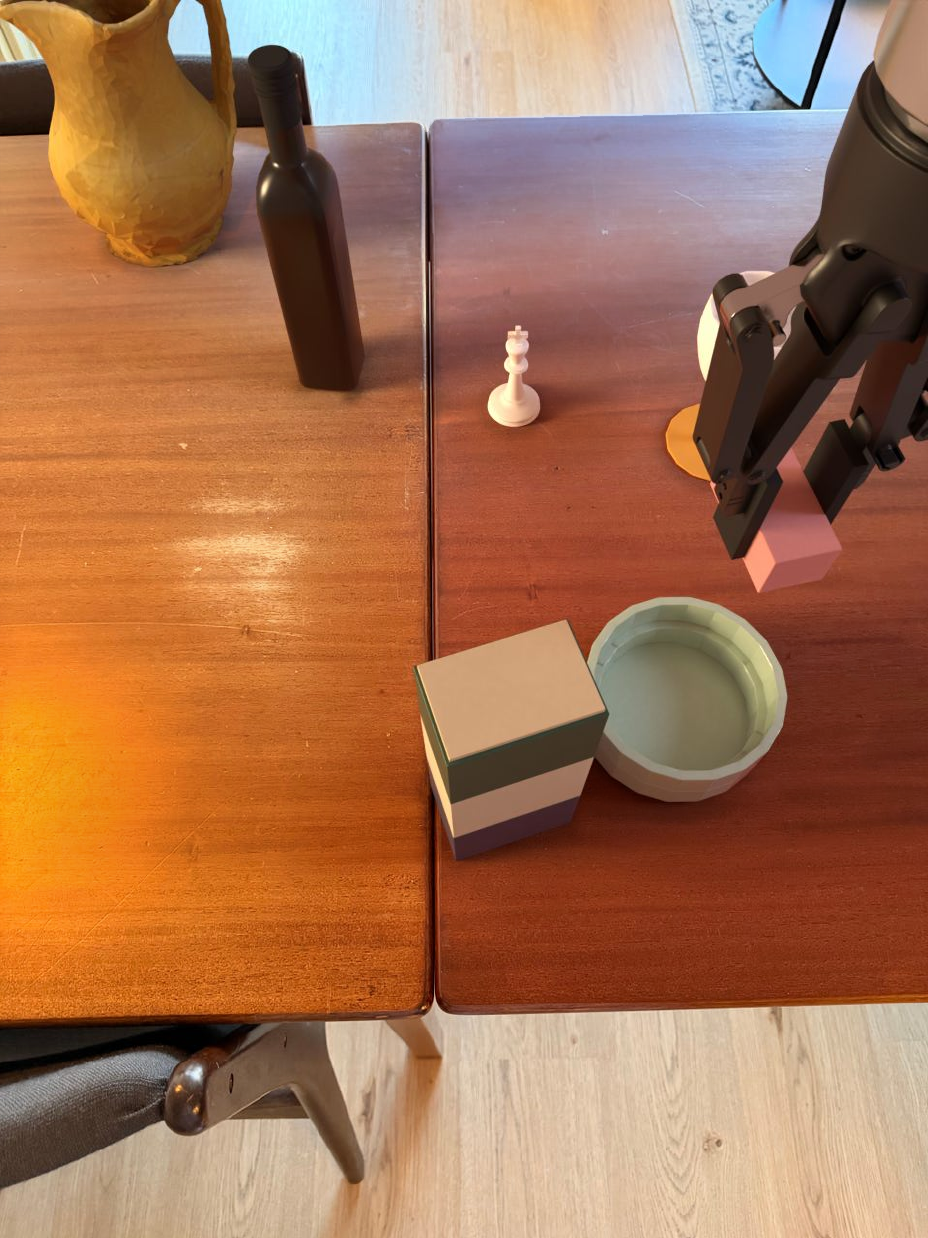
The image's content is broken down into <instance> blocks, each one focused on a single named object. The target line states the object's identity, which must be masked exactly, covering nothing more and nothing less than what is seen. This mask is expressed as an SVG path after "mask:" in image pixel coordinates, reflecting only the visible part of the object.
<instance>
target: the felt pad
mask: <svg viewBox="0 0 928 1238" xmlns="http://www.w3.org/2000/svg"><path fill="white" fill-rule="evenodd" d="M562 620H563V621H562ZM562 620H558V621H559V622H558V621H555V622H556V623H555V622H552V623H553V624H552V623H549V624H550V625H549V624H546V626H545V625H542V626H543V627H542V626H539V627H540V628H539V627H536V628H537V629H536V628H533V629H534V630H532V629H529V630H530V631H529V630H526V631H527V632H526V631H523V632H524V633H523V632H520V633H521V634H520V633H517V635H516V634H514V636H513V635H511V637H510V636H507V637H508V638H507V637H503V638H504V639H503V638H500V639H501V640H500V639H497V640H498V641H497V640H494V641H495V642H494V641H490V642H491V643H490V642H487V643H488V644H487V643H484V644H485V645H484V644H481V645H482V646H481V645H478V647H477V646H475V648H474V647H472V649H471V648H468V649H469V650H468V649H465V651H464V650H461V651H462V652H461V651H458V652H459V653H458V652H455V653H456V654H455V653H452V655H451V654H448V655H449V656H448V655H445V656H446V657H445V656H442V657H443V658H442V657H439V659H438V658H435V659H436V660H435V659H432V660H433V661H432V660H429V661H430V662H429V661H426V662H427V663H425V662H422V663H423V664H422V663H419V664H420V665H419V664H416V665H417V668H418V671H419V674H420V677H421V680H422V683H423V686H424V689H425V692H426V695H427V698H428V701H429V704H430V706H431V709H432V712H433V715H434V718H435V721H436V724H437V727H438V730H439V733H440V736H441V739H442V742H443V745H444V748H445V750H446V753H447V756H448V759H449V762H452V761H455V760H458V759H461V758H464V757H467V756H470V755H473V754H476V753H480V752H483V751H486V750H489V749H492V748H495V747H498V746H501V745H504V744H507V743H510V742H513V741H516V740H519V739H523V738H526V737H529V736H532V735H535V734H538V733H541V732H544V731H547V730H550V729H553V728H556V727H559V726H562V725H566V724H569V723H572V722H575V721H578V720H581V719H584V718H587V717H590V716H593V715H596V714H599V713H602V712H605V707H604V704H603V702H602V700H601V697H600V695H599V693H598V690H597V688H596V686H595V684H594V681H593V679H592V677H591V674H590V672H589V670H588V668H587V665H586V663H585V661H584V658H583V656H582V654H581V652H580V649H579V647H578V645H577V642H576V640H575V638H574V636H573V633H572V631H571V629H570V626H569V624H568V622H567V620H565V619H562Z"/></svg>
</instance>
